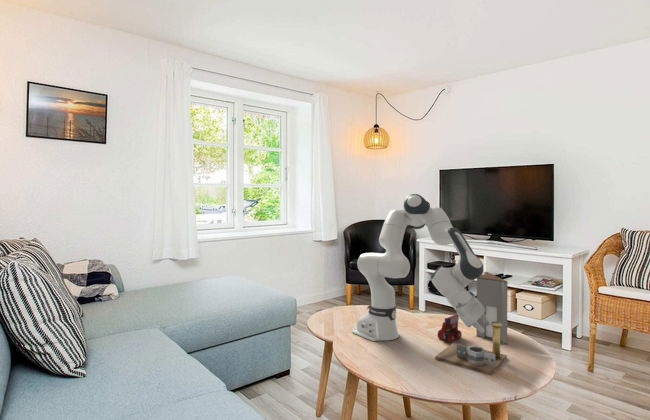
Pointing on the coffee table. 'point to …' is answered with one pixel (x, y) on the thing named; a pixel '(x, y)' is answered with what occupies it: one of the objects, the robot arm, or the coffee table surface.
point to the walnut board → (451, 357)
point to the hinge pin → (496, 338)
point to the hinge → (476, 355)
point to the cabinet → (493, 304)
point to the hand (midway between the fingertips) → (486, 328)
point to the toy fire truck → (450, 329)
